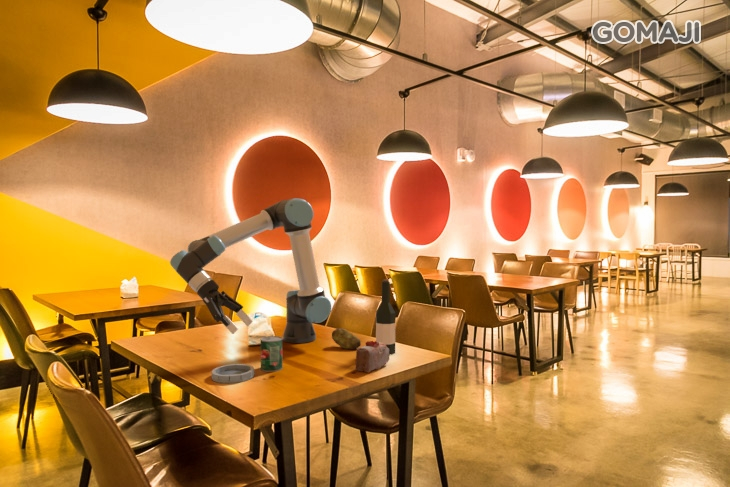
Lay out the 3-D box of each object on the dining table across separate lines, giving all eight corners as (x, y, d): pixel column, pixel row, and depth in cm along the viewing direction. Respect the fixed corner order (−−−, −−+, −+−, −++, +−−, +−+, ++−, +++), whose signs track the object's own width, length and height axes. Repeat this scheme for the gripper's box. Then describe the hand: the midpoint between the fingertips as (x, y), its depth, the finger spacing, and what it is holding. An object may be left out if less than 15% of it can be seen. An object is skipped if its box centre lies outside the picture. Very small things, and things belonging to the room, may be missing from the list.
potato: (348, 352, 192) (348, 333, 191) (328, 346, 201) (328, 328, 201) (363, 348, 197) (363, 330, 197) (343, 343, 207) (343, 325, 206)
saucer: (251, 368, 168) (251, 362, 168) (256, 380, 155) (256, 373, 155) (210, 373, 163) (210, 366, 163) (213, 385, 150) (212, 378, 150)
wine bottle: (397, 350, 194) (398, 279, 194) (392, 355, 186) (392, 281, 186) (378, 349, 197) (379, 278, 196) (372, 353, 189) (373, 280, 188)
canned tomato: (287, 367, 170) (287, 337, 170) (272, 373, 163) (271, 342, 163) (271, 364, 174) (271, 335, 174) (255, 369, 167) (255, 339, 167)
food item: (373, 361, 178) (373, 336, 178) (391, 364, 174) (391, 338, 174) (353, 370, 167) (353, 343, 166) (372, 374, 162) (372, 346, 162)
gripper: (213, 288, 184) (249, 327, 182) (179, 297, 159) (221, 342, 158) (225, 275, 183) (262, 314, 182) (194, 282, 159) (236, 327, 157)
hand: (243, 327), depth 170 cm, fingers open, 13 cm apart
